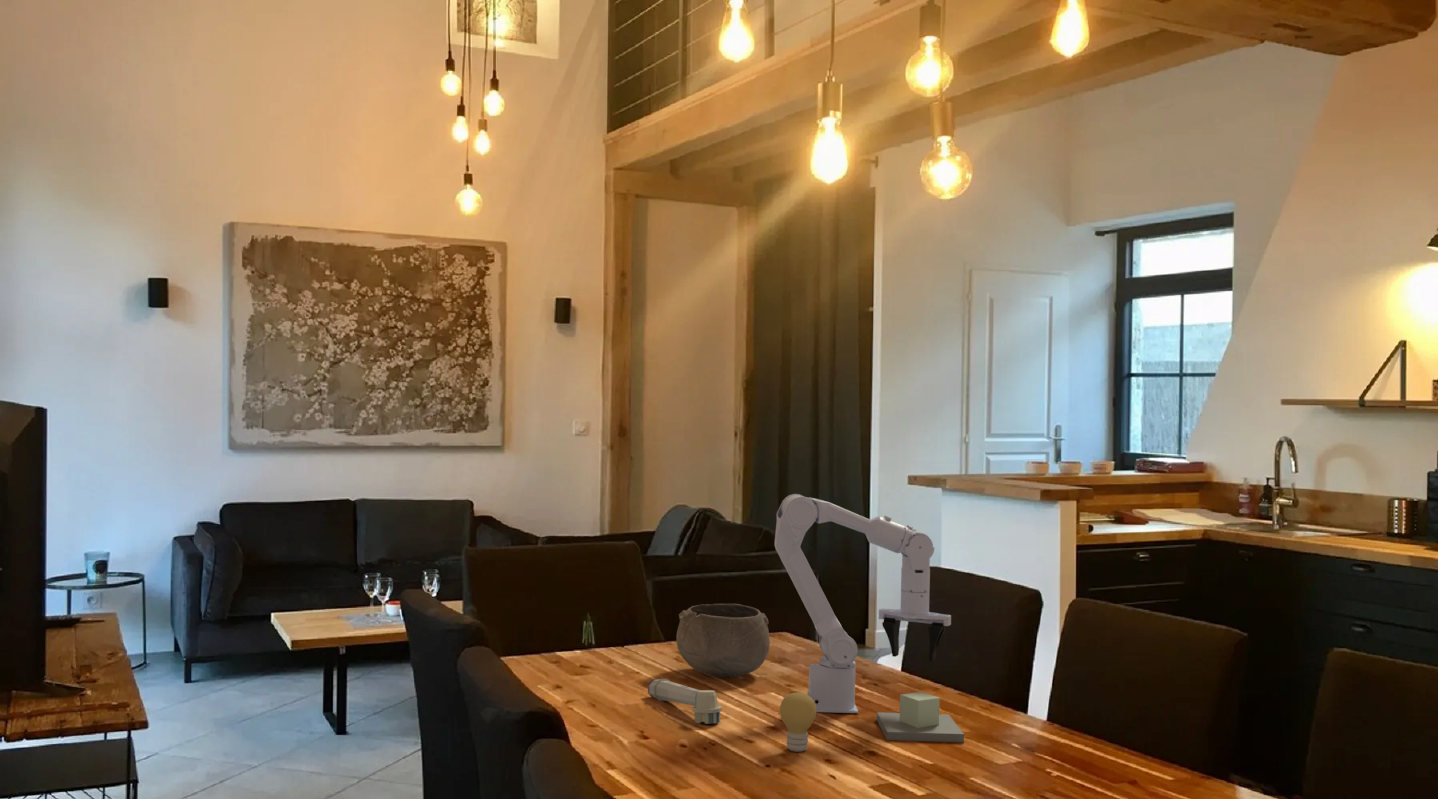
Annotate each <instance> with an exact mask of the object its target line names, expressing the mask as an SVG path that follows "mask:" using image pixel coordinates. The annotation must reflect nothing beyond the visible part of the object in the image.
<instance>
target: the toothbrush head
mask: <svg viewBox="0 0 1438 799" xmlns="http://www.w3.org/2000/svg"><path fill="white" fill-rule="evenodd" d="M647 694H648V695H650V697H651V698H654V699H656V700H658V702H663V701H666V702H671V703H672V702H673V703H677V704H681V705H682V704H683V705H688V706H693V707H692V713H694V723H695V724H702V723H704V724H707V725H708V724H710V725H711V724H718V723H721V712H722V711H723V710H722V709H723V708H722V706H720V705H719V704H718V697H717V693H716V690H709V689H707V690H705V689H703V690H700V689H697V688H694V687H689V686H687V685H683V684H680V683H676V682H673V681H670V680H669V678H660V679H652V680H650V682H649V683H648V685H647Z"/></svg>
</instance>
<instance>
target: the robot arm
mask: <svg viewBox="0 0 1438 799" xmlns="http://www.w3.org/2000/svg"><path fill="white" fill-rule="evenodd" d="M827 522H828V523H829V522H831V523H832V522H833V523H835V524H837V525H840V526H843V527H845V528H848V529H851V530H854V531H856V532H859V533H862V534H865V536H866V539H867V542H868V543H870V544H872V545H875V546H877V547H880V548H883V549H885V550H888V551H890V552H893V553H896V554H901V556H902V557H901V558H902V559H901V569H900V570H901V573H900V575H901V577H900V580H901V581H900V589H901V590H900V609H896V608H895V609H894V608H880V609H879V610H878V619H879V620H883V621H882V623H881V624H882V628H883V630H884V631H885V632H884V633H886V636H887V639H888V641H889V645H890V650H891V656H892V657H893V658H894V657H897V656H899V651H900V646H899V645H900V642H899V640H900V639H899V637H900V629H901V628H900V627H901V623H902V622H911V623H919V624H920V623H921V624H922V623H923V624H930V625H929V626H928V636H929V637H928V638H929V651H928V661H929V662H933V661H936V656H937V651H938V648H939V644H940V642H941V640H942V638H943V636H944V633H945V631H946V630H947V627H950V626H951V625H952V615H951V614H944V613H938V612H931V611H930V586H931V585H930V582H931V579H930V578H931V568H930V565H931V564H930V563H931V558H932V556H933V555H934V552H935V546H934V543H933V541H932V539H931V538H930V536H928V535H927V534H926V533H923V532H921V531H919V530H916V529H913V527H914V526H911V525H903V524H900V523H898V522H894V520H892V517H890V516H887V515H884V516H879V515H878V516H874V517H873V518H871V519H870V518H867V517H865V516H863V515H859V514H858V513H855V512H853V511H850V510H849V509H845V508H843V507H841V506H839V505H836V504H834V503H832V502H829V501H825V500H822V499H820V498H819V499H818V498H814V497H807V496H804V495H802V494H799V493H793V494H789V495H787V496H786V497H785V498H784V499H783V500H782V501H781V504H780V505H779V508H778V510H777V511H776V526H775V535H774V547H775V551H776V553H777V555H778V556H779V558H780V560H781V563H782V564H783V566H784V568H785V570H786V572H787V574H788V576H789V577H790V579H791V581H792V583H793V586H794V587H795V589H796V592H797V593H798V595H799V597H800V599H801V601H802V603H803V605H804V607H805V609H806V611H807V613H808V615H809V616H810V619H811V620H812V623H813V625H814V628H815V630H816V633H817V634H818V638H819V644H818V645H819V649H820V650H821V652H822V653H823V655H822V656H821V657H820V659H819V663H810V664H809V666H808V691H807V693H806V694H807V695H808V696H810V697H811V698H812V699H813V701H814V702H815V705H816V713H835V714H836V713H838V714H841V713H842V714H858V713H859V710H858V706H856V700H855V697H856V696H855V694H856V693H855V692H856V665H857V663H856V661H855V660H856V658H857V656H858V645H857V642H856V641H855V640H854V638H852V637H851V636H849V635H848V632H846V631H845V629H844V628H843V627H842V624H841V623H840V621H839V620H838V617H837V616H836V615H835V613H834V611H833V608H832V607H831V605H830V602H829V601H828V599H827V597H826V595H825V593H824V591H823V589H822V587H821V585H820V583H819V580H818V579H817V577H816V575H815V573H814V571H813V569H812V568H811V565H810V564H809V561H808V559H807V558H806V556H805V554H804V552H803V549H802V548H801V545H802V542H803V540H804V537H805V536H806V533H807V532H808V530H809V529H810V528H811V527H812V526H813V524H814V523H817V524H824V523H827Z"/></svg>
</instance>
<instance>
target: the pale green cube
mask: <svg viewBox="0 0 1438 799" xmlns="http://www.w3.org/2000/svg"><path fill="white" fill-rule="evenodd" d="M940 700H941V698H940V697H938V696H935V695H932V694H930V693H925V692H922V691H917V692H910V693H903V694H902V693H901V694H899V713H900V721H901V722H903V723H906V724H909V725H912V726H914V727H917V728H920V727H926V726H933V725H939V714H940V704H941V703H940Z"/></svg>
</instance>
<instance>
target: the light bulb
mask: <svg viewBox="0 0 1438 799" xmlns="http://www.w3.org/2000/svg"><path fill="white" fill-rule="evenodd" d="M781 700H782V701H781V702H780V706H779V715H780V717H781V720H782V722H783V724H784V725H785V726H786V728H787V729H788V730H787V731H786V748H787V749H788V750H789V751H791V752H795V753H797V752H798V753H799V752H801V753H802V752H805V751H806V750H807V749H808V747H809V745H808V744H809V743H808V742H809V738H808V737H809V732H808V729H809V728H810V727H811V726H812V725H813V723H814V721H815V719H816V716H817V712H816V705H815V702H814V701H813V699H812V698H811V697H810V696H808V695H807V693H804V692H799V691H798V692H797V691H795V692H792V693H788V694H787V695H785V696H784V697H783V699H781Z"/></svg>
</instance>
